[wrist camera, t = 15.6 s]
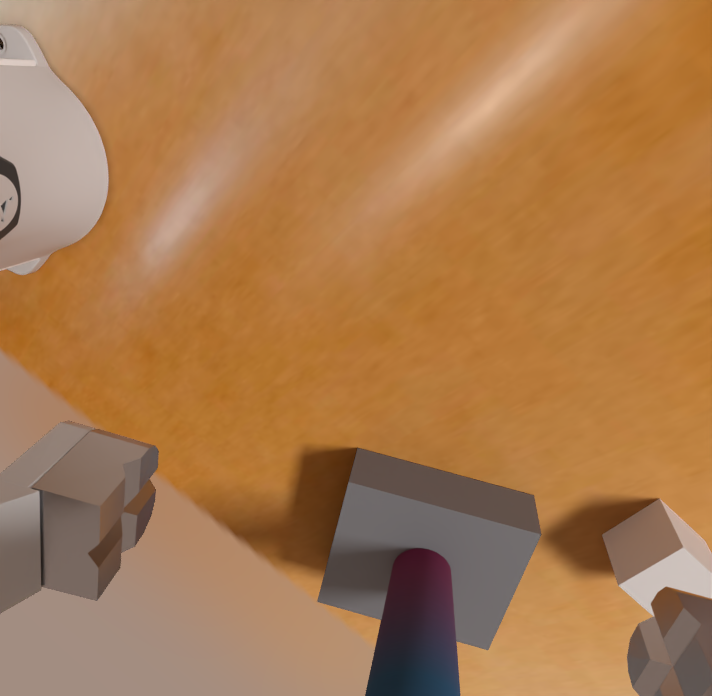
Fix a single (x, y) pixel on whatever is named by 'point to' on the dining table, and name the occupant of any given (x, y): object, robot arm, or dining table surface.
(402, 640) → the cup
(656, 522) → the white cube
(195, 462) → the dining table surface
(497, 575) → the plinth
